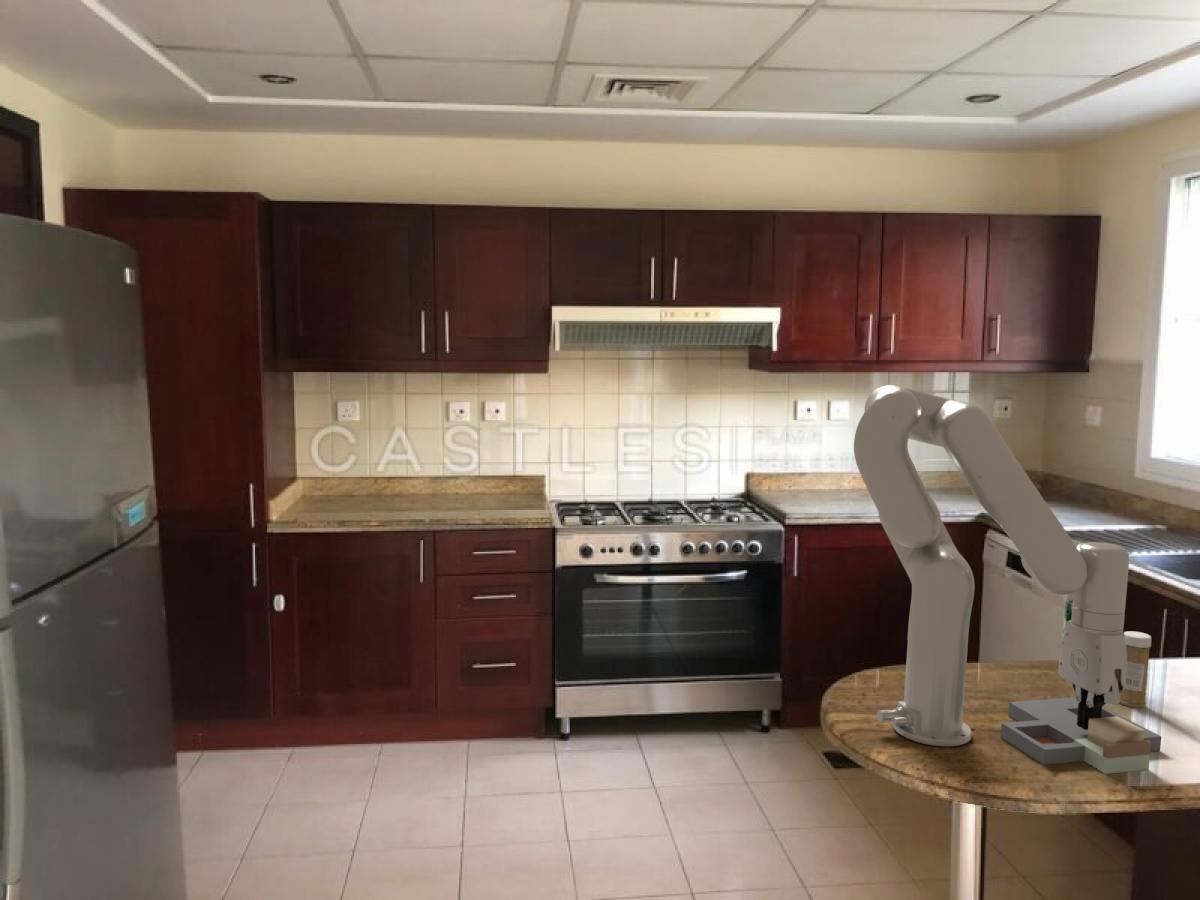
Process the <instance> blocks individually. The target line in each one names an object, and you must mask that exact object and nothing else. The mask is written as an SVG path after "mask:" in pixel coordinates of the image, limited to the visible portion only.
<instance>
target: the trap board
mask: <svg viewBox="0 0 1200 900" xmlns="http://www.w3.org/2000/svg"><path fill="white" fill-rule="evenodd" d="M1078 703H1079V702H1077V700H1076V696H1075V697H1062V698H1049V699H1035V700H1034V699H1033V700H1022V701H1021V700H1020V701H1009V703H1008V704H1009V705H1008V714H1007V715H1008V717H1010V718H1011V719H1013V720H1015V721H1011V722H1009V721H1008V722H1001V726H1000V738H1001V739H1002V740H1004V741H1006V742H1008V743H1009V744H1011V745H1012V746H1013V747H1014V748H1016V749H1018V750H1020V751H1021V752H1023V753H1024V754H1026V756H1027V755H1028V757H1030V758H1032V759H1033V760H1035V761H1037V762H1039V763H1040V764H1041V765H1042V766H1043V765H1046V766H1047V765H1057V764H1068V763H1077V762H1079V761H1080V762H1085V763H1086V762H1087V764H1088V765H1089V766H1091V765H1092V766H1091V767H1093V768H1094V769H1096V768H1097V769H1096V770H1098V771H1099V772H1102V773H1103V774H1104V775H1107V774H1117V773H1118V774H1119V773H1129V772H1139V771H1149V767H1150V757H1151V756H1150V755H1151V753H1154V751H1156V752H1160V751H1161V745H1162V736H1161V735H1160V734H1157V733H1155V732H1154V731H1152V730H1150V729H1147V728H1145V727H1144V726H1141V725H1139V724H1138V723H1136V722H1134V721H1132V720H1130V719H1128V718H1126V717H1124V716H1122V715H1120V714H1118V713H1117V712H1114V711H1112V710H1111V709H1109V708H1106V706H1104V707H1102V713H1101V718H1105V717H1116V716H1117V717H1119V718H1121V719H1123V720H1125V721H1127V722H1129V723H1131V724H1133V725H1135V726H1137V727H1139V728H1142V729H1144V730H1145V732H1144V741H1132V742H1120V743H1109V744H1104V747H1103V748H1101V747H1099V746H1098V745H1096V744H1094V743H1092V742H1090V741H1089V740H1087V736H1088V730H1084V729H1082V727H1079V726H1077V716H1078Z"/></svg>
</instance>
